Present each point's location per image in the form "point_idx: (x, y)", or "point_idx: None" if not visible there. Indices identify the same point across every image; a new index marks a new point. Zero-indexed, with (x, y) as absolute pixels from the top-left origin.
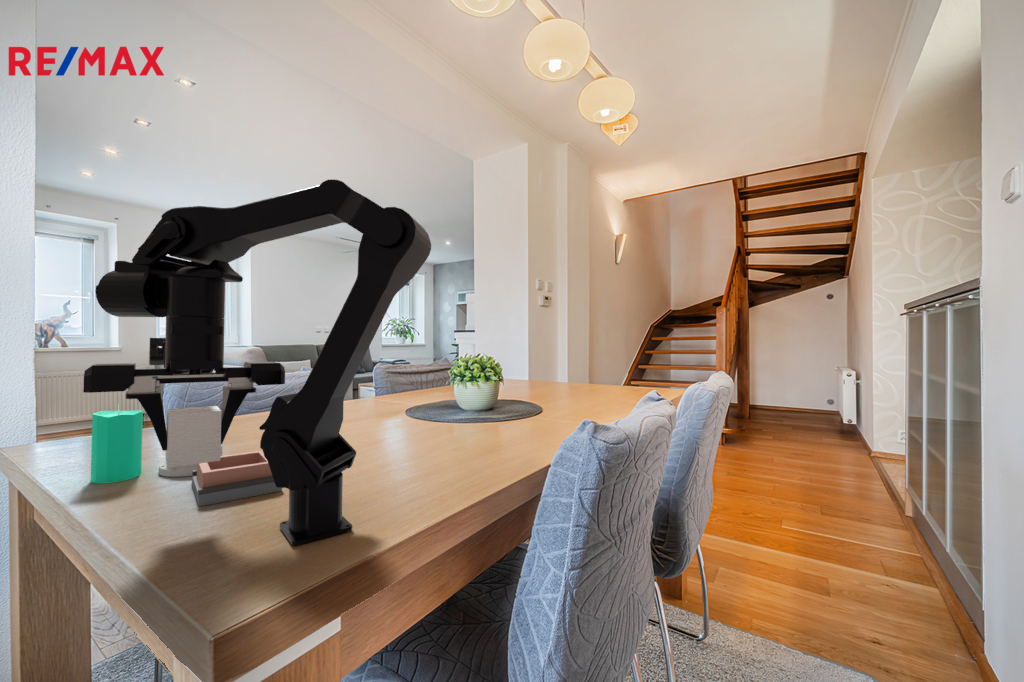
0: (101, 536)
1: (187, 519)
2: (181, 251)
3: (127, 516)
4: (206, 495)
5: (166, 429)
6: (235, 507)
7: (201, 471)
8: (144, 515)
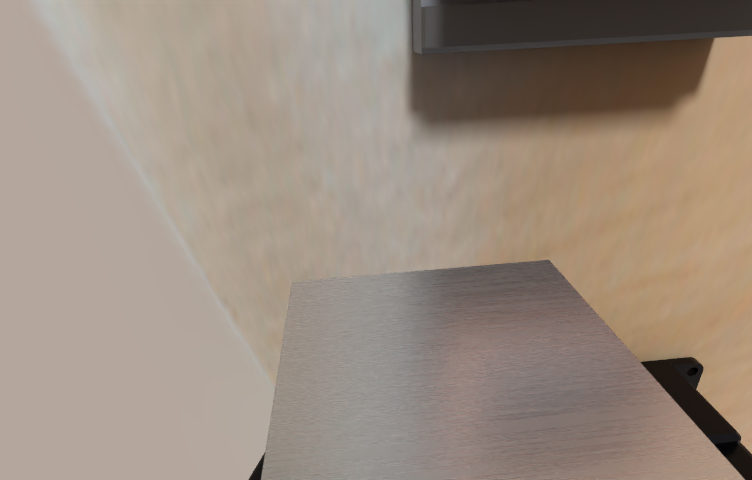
0: (152, 190)
1: (375, 178)
2: None
3: (171, 5)
4: (449, 51)
5: (269, 449)
6: (519, 143)
7: None
8: (233, 35)
